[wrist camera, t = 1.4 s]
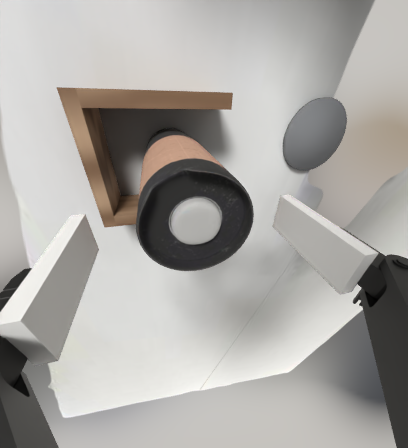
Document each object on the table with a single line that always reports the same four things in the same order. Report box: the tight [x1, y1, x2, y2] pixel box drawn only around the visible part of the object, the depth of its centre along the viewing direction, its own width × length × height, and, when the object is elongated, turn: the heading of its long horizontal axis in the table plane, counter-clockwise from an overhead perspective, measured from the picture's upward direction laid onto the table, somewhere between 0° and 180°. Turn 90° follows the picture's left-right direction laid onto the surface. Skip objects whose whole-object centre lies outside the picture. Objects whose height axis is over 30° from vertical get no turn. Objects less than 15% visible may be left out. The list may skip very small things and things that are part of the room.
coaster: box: [283, 98, 347, 170], centre depth 31 cm, size 11×11×1 cm
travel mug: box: [136, 128, 254, 271], centre depth 20 cm, size 8×8×20 cm
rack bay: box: [57, 88, 233, 227], centre depth 25 cm, size 15×16×6 cm
